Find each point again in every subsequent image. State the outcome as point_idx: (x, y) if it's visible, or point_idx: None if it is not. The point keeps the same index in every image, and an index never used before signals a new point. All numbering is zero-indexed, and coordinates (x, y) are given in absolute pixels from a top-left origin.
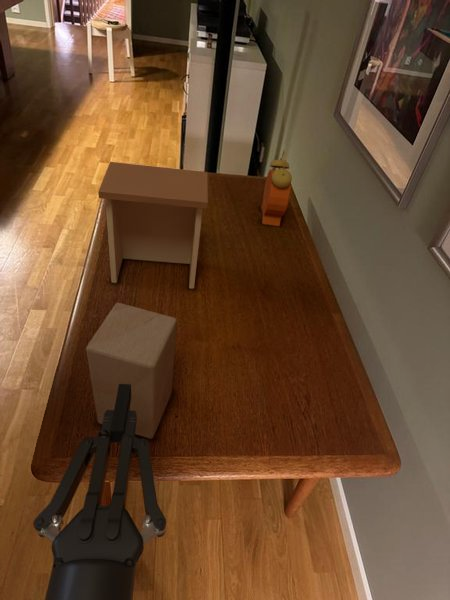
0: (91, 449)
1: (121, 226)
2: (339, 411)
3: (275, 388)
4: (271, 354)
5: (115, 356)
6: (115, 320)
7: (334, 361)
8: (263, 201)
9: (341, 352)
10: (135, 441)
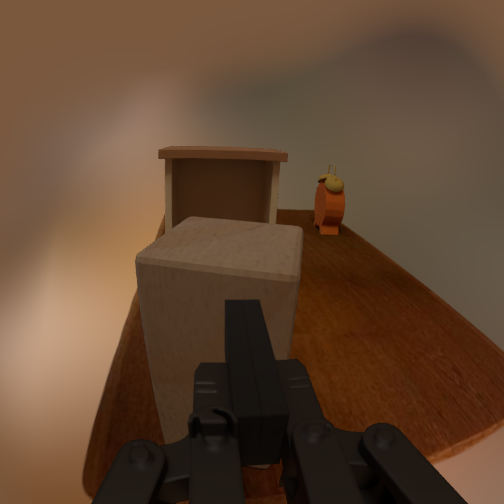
0: (166, 488)
1: (178, 220)
2: (490, 373)
3: (418, 369)
4: (394, 335)
5: (200, 265)
6: (190, 228)
7: (458, 330)
8: (317, 215)
9: (458, 321)
10: (344, 443)
